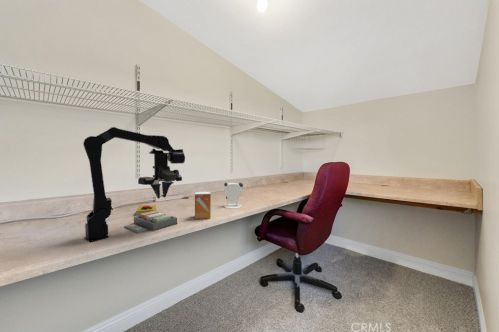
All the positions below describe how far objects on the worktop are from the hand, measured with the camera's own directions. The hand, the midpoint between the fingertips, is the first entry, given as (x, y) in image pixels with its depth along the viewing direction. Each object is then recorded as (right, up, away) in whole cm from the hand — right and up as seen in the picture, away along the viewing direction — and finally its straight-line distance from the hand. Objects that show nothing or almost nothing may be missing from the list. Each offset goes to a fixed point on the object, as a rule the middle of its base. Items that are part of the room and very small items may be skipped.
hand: (161, 197), depth 102 cm
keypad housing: (-4, -13, +4) cm, 14 cm away
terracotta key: (-9, -10, +7) cm, 15 cm away
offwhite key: (-4, -11, +4) cm, 12 cm away
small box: (+16, -13, +15) cm, 25 cm away
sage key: (0, -11, +1) cm, 11 cm away
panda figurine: (+30, -11, +39) cm, 51 cm away
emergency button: (-17, -12, +23) cm, 32 cm away
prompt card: (-10, -13, -4) cm, 17 cm away
